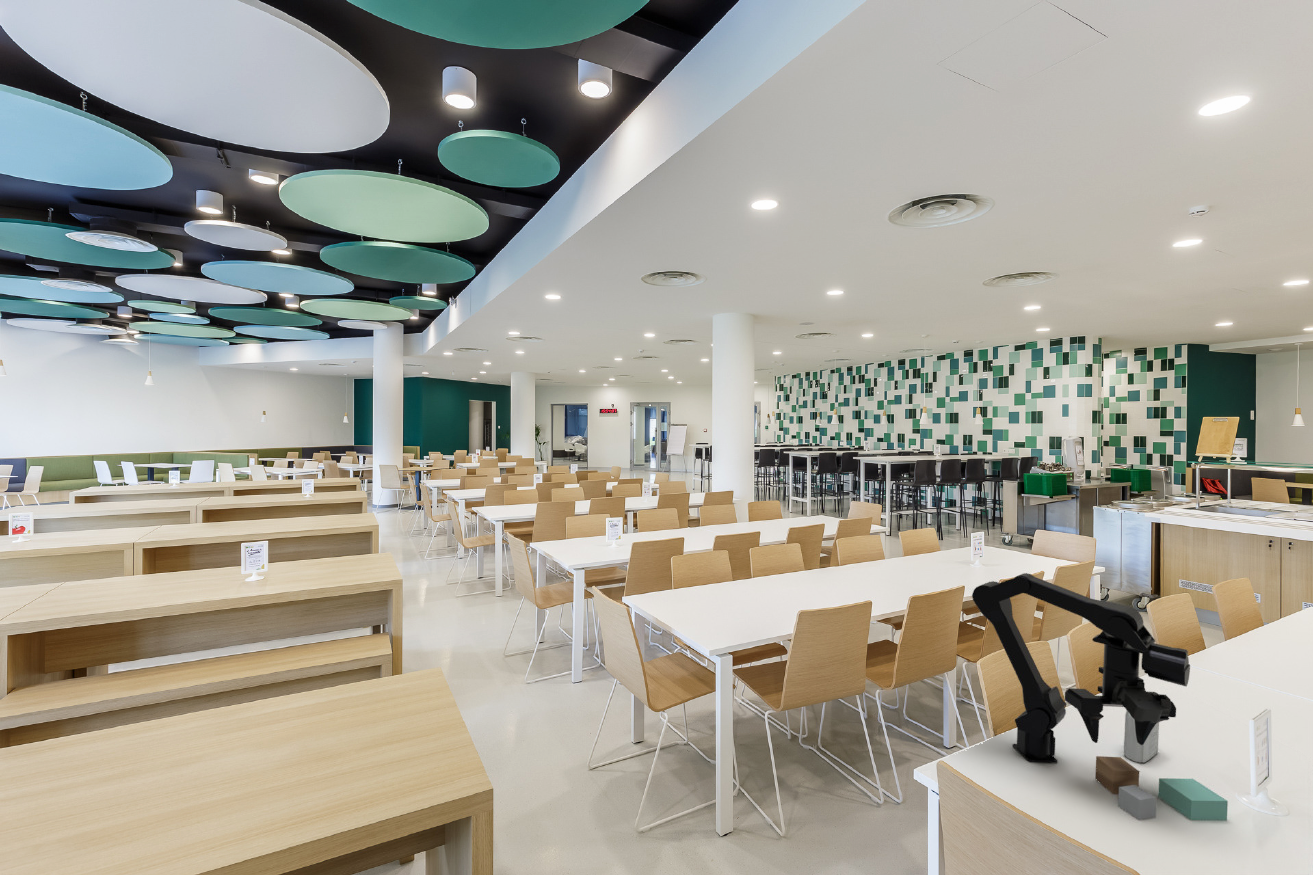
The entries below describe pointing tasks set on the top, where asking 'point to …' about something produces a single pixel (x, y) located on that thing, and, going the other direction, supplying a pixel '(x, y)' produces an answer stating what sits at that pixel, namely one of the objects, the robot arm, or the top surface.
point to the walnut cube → (1115, 773)
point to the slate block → (1137, 802)
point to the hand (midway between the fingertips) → (1117, 742)
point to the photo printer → (1133, 747)
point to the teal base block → (1193, 799)
